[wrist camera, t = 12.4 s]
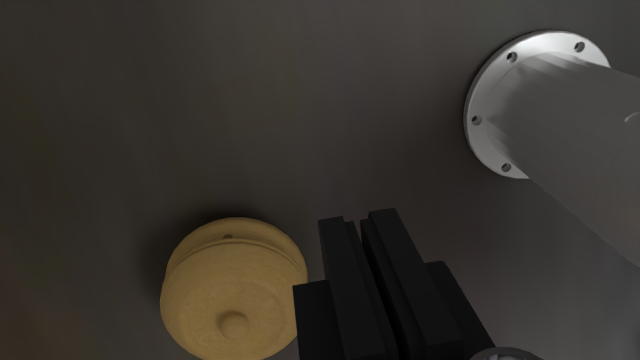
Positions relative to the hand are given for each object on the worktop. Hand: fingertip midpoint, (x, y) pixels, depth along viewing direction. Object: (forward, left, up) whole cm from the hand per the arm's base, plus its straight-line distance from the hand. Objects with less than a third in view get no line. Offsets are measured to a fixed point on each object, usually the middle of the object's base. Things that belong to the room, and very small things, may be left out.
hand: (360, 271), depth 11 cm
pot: (+7, +18, -29) cm, 35 cm away
